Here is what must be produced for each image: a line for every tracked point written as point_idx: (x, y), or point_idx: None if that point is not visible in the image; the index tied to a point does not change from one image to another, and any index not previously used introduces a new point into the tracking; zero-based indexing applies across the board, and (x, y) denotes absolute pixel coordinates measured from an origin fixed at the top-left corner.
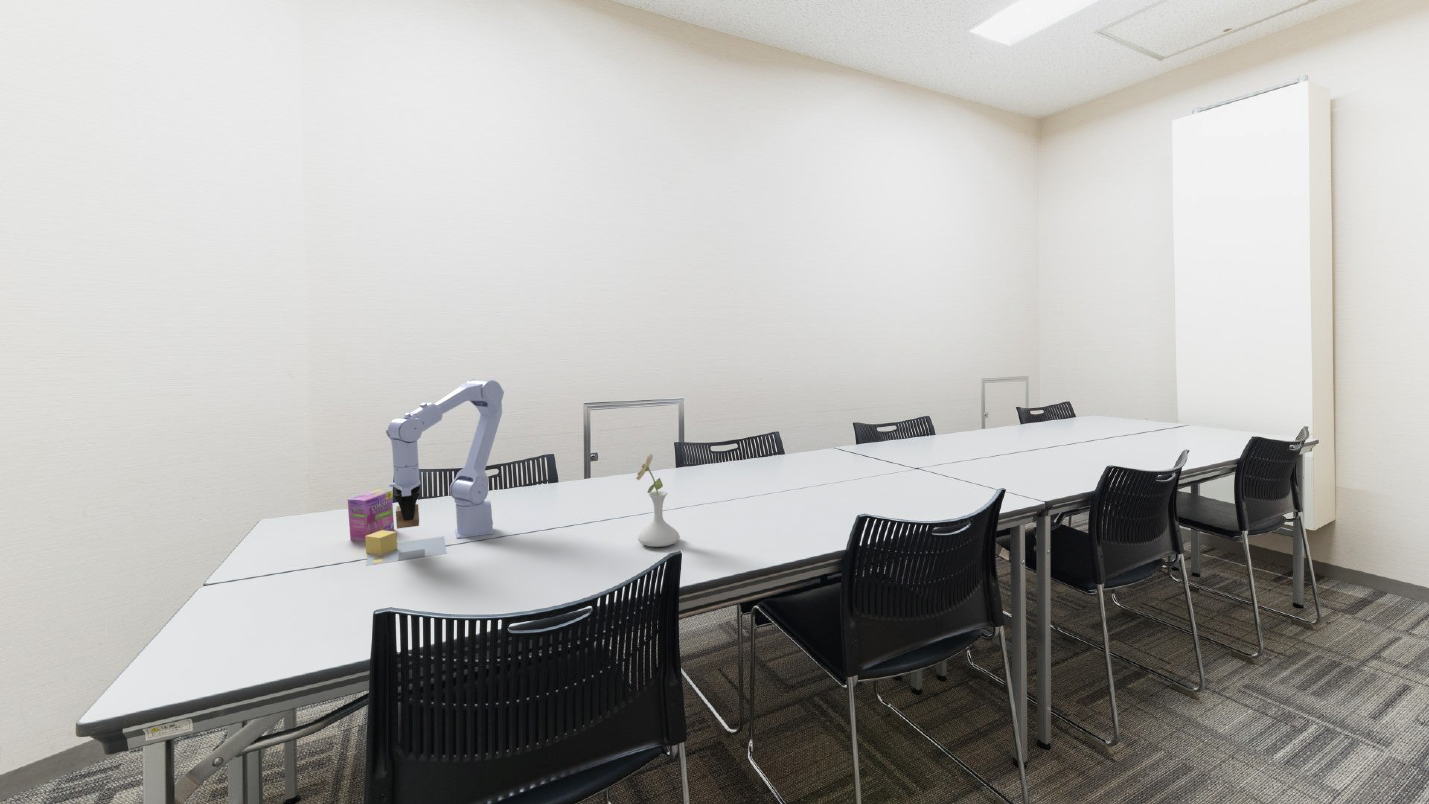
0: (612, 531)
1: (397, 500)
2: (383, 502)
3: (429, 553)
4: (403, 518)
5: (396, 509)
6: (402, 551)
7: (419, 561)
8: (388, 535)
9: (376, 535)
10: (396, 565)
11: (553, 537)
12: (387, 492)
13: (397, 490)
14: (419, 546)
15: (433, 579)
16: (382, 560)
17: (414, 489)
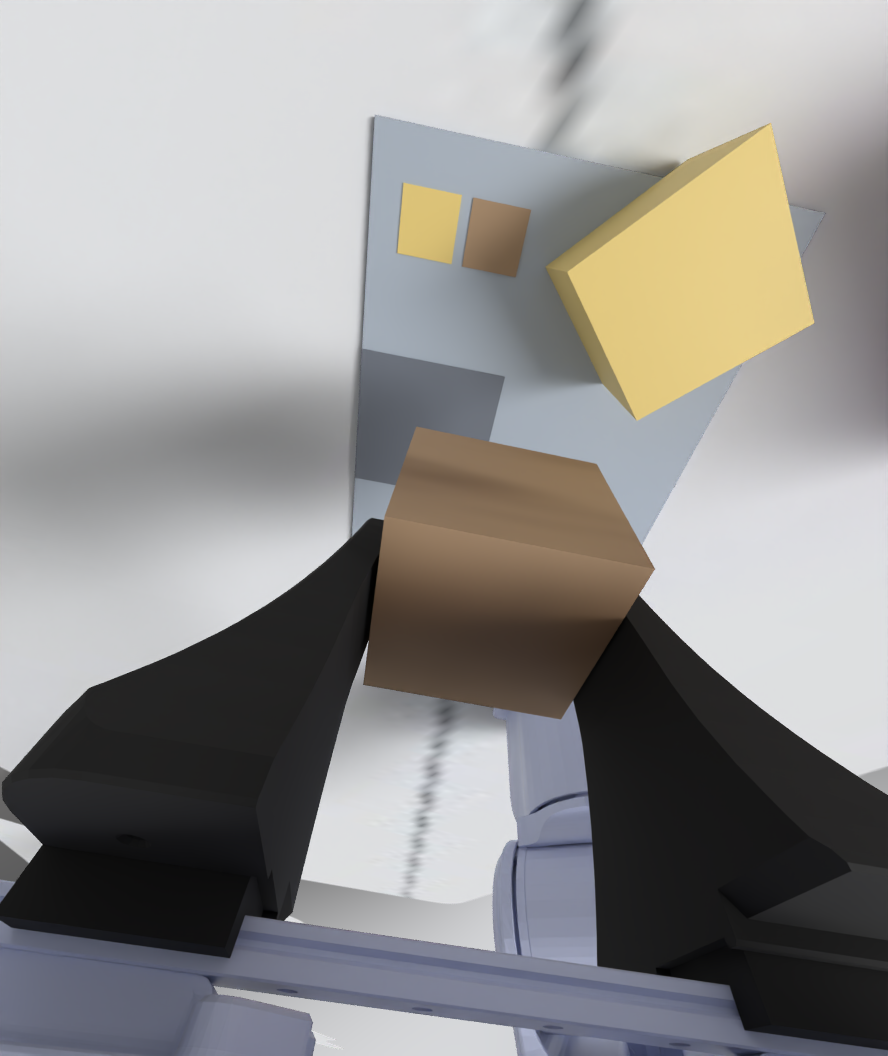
0: (317, 842)
1: (134, 677)
2: None
3: None
4: (363, 526)
5: (485, 540)
6: (520, 399)
7: (311, 443)
8: (603, 353)
9: (680, 250)
10: (302, 327)
11: (344, 780)
12: None
13: (795, 852)
14: None
15: (38, 445)
16: (417, 257)
17: (627, 927)
